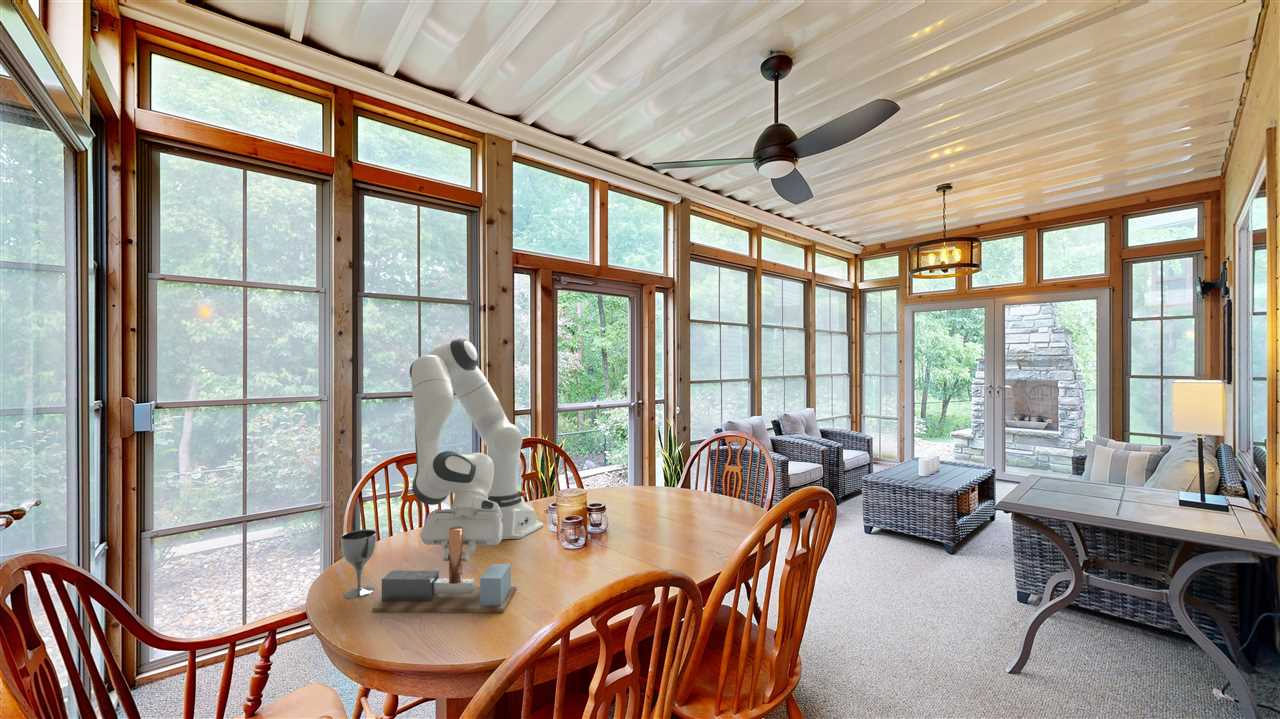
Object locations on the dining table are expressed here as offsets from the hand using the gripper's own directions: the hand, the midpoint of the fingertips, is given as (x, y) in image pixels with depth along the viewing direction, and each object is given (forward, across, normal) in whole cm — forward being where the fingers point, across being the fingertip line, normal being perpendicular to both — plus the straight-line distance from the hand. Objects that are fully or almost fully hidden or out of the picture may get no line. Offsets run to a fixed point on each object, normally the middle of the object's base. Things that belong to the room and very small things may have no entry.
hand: (455, 560), depth 130 cm
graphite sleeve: (+6, -11, +7) cm, 15 cm away
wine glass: (+4, -27, +11) cm, 29 cm away
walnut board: (+7, -2, +8) cm, 11 cm away
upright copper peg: (+5, -4, +6) cm, 9 cm away
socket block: (+6, +10, +7) cm, 14 cm away
